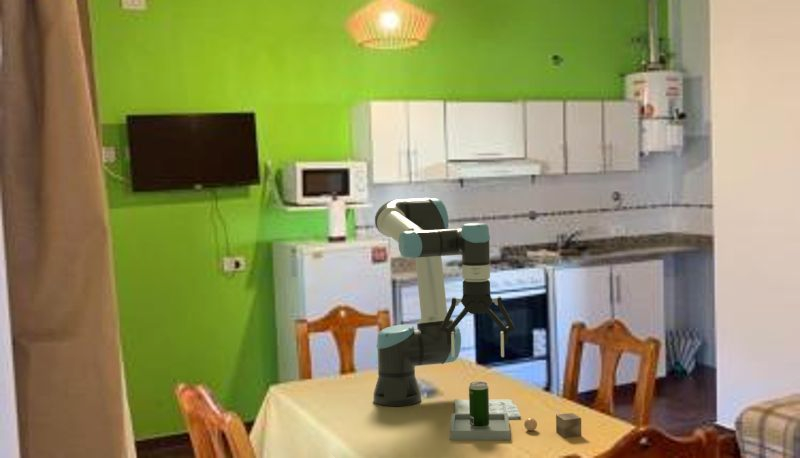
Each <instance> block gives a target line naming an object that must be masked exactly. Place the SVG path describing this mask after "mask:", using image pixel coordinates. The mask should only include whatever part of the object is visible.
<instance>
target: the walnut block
mask: <svg viewBox="0 0 800 458" xmlns="http://www.w3.org/2000/svg"><path fill="white" fill-rule="evenodd" d="M555 425H556V428H555V431H556V434H558V435H559V436H561V437H562V438H564V439H567V438H575V437H582V417H581V416H579V415H578V414H576V413H574V412H570V413H560V414H559V413H558V414H555Z"/></svg>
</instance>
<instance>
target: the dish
mask: <svg viewBox="0 0 800 458" xmlns="http://www.w3.org/2000/svg"><path fill="white" fill-rule="evenodd" d="M450 416H451V418H450V425H449V426H450V427H449V441H455V440H456V441H511V430H510V421H509V420H510V419H508V413H489V426H488V427H487V428H485V429H475V428H472V427H471V425H470V413H451V415H450Z"/></svg>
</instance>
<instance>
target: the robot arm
mask: <svg viewBox="0 0 800 458" xmlns="http://www.w3.org/2000/svg"><path fill="white" fill-rule="evenodd" d="M448 214H449V213H448V211H447V208H446V205H445V204H444V202H443V201H442V199H440V198H435V197H434V198H433V197H432V198H430V197H423V198H420V197H419V198H404V199H401V198H400V199H399V198H398V199H393V200H390V201H388V202H386V203H384V204H382V205H381V206H380V207H379V208H378V209H377V211H376V213H375V215H374V225H375V227H376V228H377V230H378V232H379V233H380V234H382V236H385V237H388V238H392V239H393V240H394V241H395V242H396V243H398V251H399V252H400V256H401V257H402V258H404V259H405V258H407V259H408V258H409V259H410V258H411V259H415V268H416V278H417V279H416V280H417V288H418V290H417V291H418V298H419V308H420V309H419V310H420V319H419V320H418V321H417V323H416V328H414V326H413V325H411V324H397V325H391V326H388V327H385V328H382V329H381V330H379V332H378V333H377V341H376V342H377V343H376V348H377V369H378V370H377V371H378V373H377V374H378V376H377V381H376V384H375V387H374V391H373V403H374V404H376V405H379V406H380V405H381V406H386V407H405V406H406V407H407V406H411V405H415V404H418V403H420V402H421V400H422V392H421V391H422V390H421V389H420V386H419V383H418V380H417V378H416V371H415V370H416V367H417V366H419V367H420V366H429V365H430V366H431V365H439V364H440V365H444V364H447V363H448V364H449V363H453V362H455V361H457V360H458V358H459V355H460V352H461V348H462V334H461V330H460V327H459V326H458V325H459V323H460V322H461V321H462V320H463V319H464V317H465V316H466V315H467V314H468V313H469V314H471V315H475V314H479V315H483V314H485V313H486V314H487V315H488V316H489V317H490V318H491V320H492V321H493V322H494V323H495V324H496V325H497V326H498V327H499V328H500V330H501V331H500V356H501V358H504V357H505V345H508V344H509V332H513V331H514V330H515V326H514V323H513V322H512V319H511V318H510V315H509V314H508V313H507V310H506V309H505V306H504V304H503V298H502V296H500V295H499V296H497V297H492V296H491V281H490V278H491V268H490V267H491V264H490V263H491V262H490V261H491V260H490V254H491V253H490V251H491V250H490V240H491V239H490V238H491V236H490V227H489V225H488V224H487V223H485V222H484V223H481V222H471V223H470V222H469V223H464V224H463V225H462V226H461V227H453V228H449V222H450V220H449V215H448ZM447 256H448V257H449V256H461V260H462V261H461V267H462V268H461V269H462V279H463V281H462V297H461V298H460V297H456V296H453V297H452V298H451V302H450V303H451V304H450V307H449V308H448V307H447V298H446V288H445V280H444V270H443V269H444V268H443V259H442V257H447ZM492 303H494V305H495V306H497V307H498V309H499V311H500V312H501V314H502V316H503V319H504V320H505V323H506V324H507V326H506V325H505V324H504V322H502V320H501V319H500V318H499V317H498V316H497V315H496V314H495V312H494V311H493V310H492V308H490V306H491V305H492ZM460 304H462V305H463V307H464V308H463V309H462V310H461V312H460V313H459V314H458V315H457V316H456V318H455V319H454V320H453V319H452V315H453V313H454V311H455V309H456V307H457V306H459V305H460Z"/></svg>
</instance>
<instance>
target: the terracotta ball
mask: <svg viewBox="0 0 800 458" xmlns="http://www.w3.org/2000/svg"><path fill="white" fill-rule="evenodd" d="M523 426H524V428H525V429H526V430H527V431H529V432H533V431H536V429H537V427H538V422H537V420H536V419H535V418H533V417H528V418H526V419H525V420H524V423H523Z"/></svg>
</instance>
